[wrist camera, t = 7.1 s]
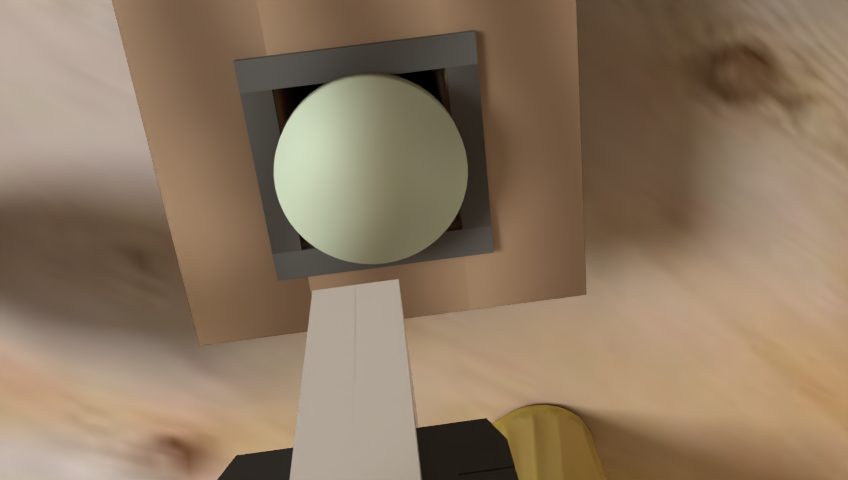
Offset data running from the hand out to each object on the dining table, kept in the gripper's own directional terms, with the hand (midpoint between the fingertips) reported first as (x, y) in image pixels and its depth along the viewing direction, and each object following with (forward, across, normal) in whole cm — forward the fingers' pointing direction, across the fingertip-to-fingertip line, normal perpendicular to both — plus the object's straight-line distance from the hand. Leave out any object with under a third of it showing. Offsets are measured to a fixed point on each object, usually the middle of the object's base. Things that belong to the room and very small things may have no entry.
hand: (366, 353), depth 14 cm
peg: (+19, 0, 0) cm, 19 cm away
